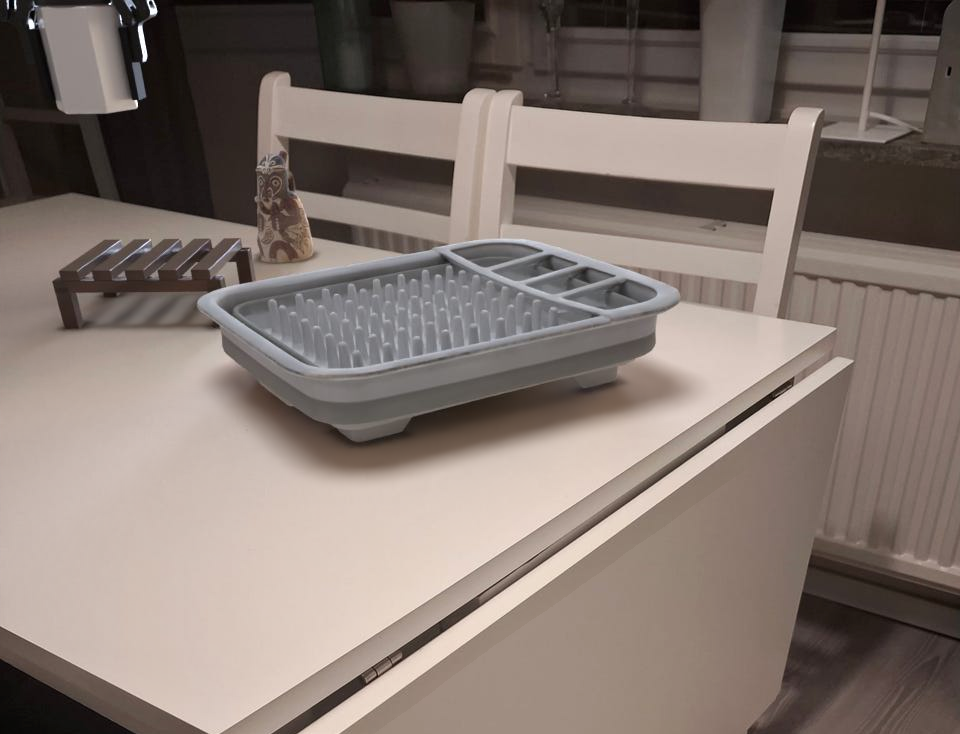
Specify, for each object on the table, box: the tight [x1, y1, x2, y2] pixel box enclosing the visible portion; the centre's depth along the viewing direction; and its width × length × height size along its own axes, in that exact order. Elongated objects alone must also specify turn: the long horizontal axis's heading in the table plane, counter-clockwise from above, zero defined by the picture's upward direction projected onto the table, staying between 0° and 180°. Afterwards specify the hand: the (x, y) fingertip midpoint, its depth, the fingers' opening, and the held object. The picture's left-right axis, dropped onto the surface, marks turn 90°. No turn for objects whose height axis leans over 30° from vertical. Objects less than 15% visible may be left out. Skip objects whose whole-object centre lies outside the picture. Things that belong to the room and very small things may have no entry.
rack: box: [52, 237, 257, 330], centre depth 112 cm, size 18×14×6 cm
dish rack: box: [196, 238, 682, 443], centre depth 92 cm, size 32×37×8 cm
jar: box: [34, 0, 139, 115], centre depth 107 cm, size 9×8×12 cm
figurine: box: [254, 150, 314, 264], centre depth 128 cm, size 7×7×12 cm
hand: (95, 99), depth 110 cm, fingers closed on jar, 9 cm apart
